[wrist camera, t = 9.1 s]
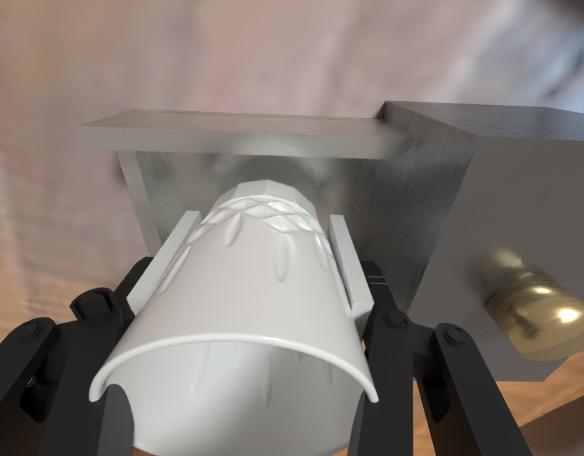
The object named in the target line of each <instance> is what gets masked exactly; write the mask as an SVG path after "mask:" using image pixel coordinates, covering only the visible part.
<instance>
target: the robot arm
mask: <svg viewBox="0 0 584 456" xmlns="http://www.w3.org/2000/svg"><path fill="white" fill-rule="evenodd" d="M201 222H202V219H201V214H200V211H186V212H185V214H184V215H183V217H182V218H181V220H180V221H179V223H178V224H177V225H176V227H175V228H174V230H173V231H172V233H171V234H170V236H169V237H168V239H167V240H166V241H165V243H164V244H163V246H162V247H161V249H160V250H159V252H158V253H157V254H156V256H155V257H144V258H143V259H141V260H140V261H139V262H137V263H136V264H135V265H134V266H133V268H132V269H131V270H130V272H129V273H128V274H127V276H126V277H125V278H124V280H123V281H122V282H121V283H120V285H119V286H118V287H117V289H116V290H115V291H114V292H113V291H112V290H111V289H109V288H104V287H102V288H95V289H92V290H89V291H86V292H84V293H83V294H81V295H79V296H78V297H77V298H75V299H74V300H73V301H72V303H71V304H70V306H69V307H70V308H71V310H72V311H73V313H74V315H75V316H76V318H77V319H78V320H75V321H71V322H67V323H62V324H58V325H56V324H55V322H54V321H53V320H52V319H50V318H47V317H41V318H36V319H32V320H30V321H27V322H25V323H23V324H21V325H20V326H18V327H17V328H15V329H14V330H13V331H12V332H11V333H9V334H8V335H7V336H6V338H5V339H4V340H3V341H2V342H1V343H0V456H132V451H133V438H134V425H135V424H134V419H133V414H132V410H131V406H130V403H129V400H128V397H127V395H126V393H125V391H124V389H123V388H122V387H121V386H120V385H118V384H110V385H108V387H107V388H106V390H105V392H104V393H103V395H102V396H101V398H100V399H99V400H97V401H94V402H91V401H90V400H89V390H90V386H91V383H92V381H93V379H94V377H95V376H96V374H97V373H98V371H99V370H100V368H101V367H102V365H103V364H104V362H105V361H106V359H107V358H108V356H109V355H110V353H111V352H112V350H113V349H114V348H115V346H116V345H117V343H118V342H119V340H120V339H121V337H122V336H123V334H124V333H125V331H126V330H127V328H128V327H129V325H130V324H131V322H132V321H133V319H134V318H135V316H136V315H137V313H138V312H139V310H140V309H141V308H142V306H143V305H144V303H145V302H146V300H147V299H148V297H149V296H150V294H151V293H152V291H153V290H154V288H155V287H156V285H157V284H158V282H159V280H160V279H161V277H162V276H163V274H164V273H165V271H166V270H167V268H168V267H169V265H170V264H171V262H172V261H173V259H174V258H175V256H176V255H177V253H178V252H179V251H180V249H181V248H182V247H183V246H184V244H185V243H186V241H187V240H188V238H189V237H190V235H191V234H192V233H193V231H194V230H195V228H196V227H197V226H198V225H199V224H200V223H201ZM327 239H328V242H329V245H330V248H331V251H332V254H333V256H334V259H335V262H336V266H337V269H338V272H339V274H340V277H341V279H342V282H343V286H344V289H345V292H346V296H347V299H348V303H349V306H350V309H351V312H352V316H353V319H354V322H355V325H356V329H357V332H358V335H359V338H360V341H361V344H362V340H364V344H365V347H366V349H365V352H364V354H365V357H366V360H367V363H368V367H369V370H370V373H371V376H372V379H373V383H374V386H375V389H376V392H377V395H378V399H379V400H378V402H375V403H374V402H371V401H370V400H369V399H368V396H367V393H366V392H365V390H363V392H362V394H361V396H360V399H359V402H358V406H357V409H356V413H355V417H354V421H353V425H352V430H351V436H350V442H349V448H348V454H347V456H413V377H414V378H416V381H417V385H418V389H419V393H420V396H421V400H422V404H423V408H424V412H425V415H426V419H427V423H428V427H429V431H430V434H431V438H432V442H433V446H434V449H435V453H436V456H533V455H532V453H531V451H530V449H529V447H528V445H527V443H526V441H525V439H524V437H523V435H522V433H521V431H520V429H519V427H518V425H517V423H516V421H515V420H514V418H513V416H512V414H511V412H510V410H509V408H508V406H507V404H506V402H505V400H504V398H503V396H502V394H501V392H500V390H499V388H498V386H497V384H496V382H495V381H494V379H493V377H492V375H491V373H490V371H489V369H488V367H487V365H486V363H485V361H484V359H483V357H482V355H481V353H480V351H479V349H478V347H477V345H476V343H475V342H474V340H473V338H472V337H471V336H470V334H469V333H467V332H466V331H465V330H464V329H463V328H461V327H459V326H457V325H455V324H451V323H440V324H438V325H437V326H436V328H435V329H433V328H429V327H426V326H422V325H419V324H416V323H414V322H412V321H411V320H410V319H409V317H408V316H407V315H406V314H405V313H403V312H402V311H400V310H399V309H398V308H397V305H396V303H395V301H394V299H393V296H392V294H391V292H390V290H389V288H388V285H387V284H386V281H385V279H384V278H383V274H382V272H381V270H380V268H379V267H378V266H377V265H376V264H375V263H374V262H373V261H359V259H358V256H357V254H356V251H355V248H354V245H353V242H352V240H351V237H350V234H349V231H348V228H347V226H346V223H345V220H344V217H343V215H330V217H329V225H328V232H327ZM31 378H32V380H31ZM30 380H31V381H30ZM29 381H30V383H29ZM28 383H29V384H28ZM27 384H28V385H27Z"/></svg>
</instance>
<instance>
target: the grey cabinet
mask: <svg viewBox="0 0 584 456" xmlns="http://www.w3.org/2000/svg"><path fill="white" fill-rule="evenodd" d="M78 129H79V131H80V134H81V136H82V139H83V142H84V144H85V147H86V149H98V150H116V153H117V156H118V159H119V163H120V166H121V169H122V172H123V175H124V178H125V181H126V184H127V187H128V190H129V193H130V196H131V199H132V202H133V206H134V209H135V212H136V215H137V218H138V221H139V224H140V227H141V230H142V233H143V236H144V239H145V242H146V245H147V248H148V252H149V255H150V257H155V256H156V254H157V253H158V252H159V250H160V249H161V247H162V246H163V244H164V243H165V241H166V240H167V239H168V237H169V236H170V234H171V233H172V231H173V230H174V228H175V227H176V225H177V224H178V223H179V221H180V220H181V218H182V217H183V215H184V214H185V212H186V211H200V214H201V219H202V221H203V220H204V219H205V217H206V216H207V215H208V213H209V212H210V210H211V208H212V207H213V205H214V204H215V202H216V200H217V199H218V197H220V196H221V195H223V194H224V193H226V192H227V191H229V190H230V189H232V188H233V187H235V186H236V185H238V184H239V183H244V182H251V181H259V180H267V179H268V180H271V181H275V182H278V183H281V184H284V185H288V186H291V187H294V188H295V189H297V190H298V191H299V192H300V193H301V194H302V195H303V196H304V197H305V198H307V199H308V200H309V201H310V202H311V203H312V204H313V205H314V207H315V210H316V213H317V216H318V218H319V221H320V224H321V227H322V230H323V234H324V236H325V237H326V238H327V232H328V225H329V217H330V215H343V217H344V220H345V223H346V226H347V228H348V231H349V234H350V237H351V240H352V242H353V245H354V248H355V251H356V254H357V256H358V259H359V261H373V262H374V263H375V264H376V265H377V266H378V267H379V268H380V270H381V272H382V274H383V278H384V279H385V281H386V284H387V285H388V288H389V290H390V292H391V294H392V296H393V299H394V301H395V303H396V305H397V308H398V309H399V310H400V311H402V312H403V313H405V314H406V315H407V316H408V317H409V319H410V320H411V321H412V322H414V323H416V324H419V325H422V326H426V327H429V328H433V329H435V328H436V326H437V325H438V324H440V323H451V324H455V325H457V326H459V327H461V328H463V329H464V330H465V331H466V332H467V333H469V334H470V336H471V337H472V338H473V340H474V342H475V343H476V345H477V347H478V349H479V351H480V353H481V355H482V357H483V359H484V361H485V363H486V365H487V367H488V369H489V371H490V373H491V375H492V377H493V379H494V381H530V382H543V381H544V380H545V379H546V378H547V377H548V376H549V375H550V374H551V373H552V372H554V371H555V370H556V369H557V368H558V367H559V366H560V365H561V364H562V363H563V362H564V361H565V360H566V359H567V358H568V357H569V356H571V355H574V354H576V353H579V352H581V351H583V350H584V113H578V112H572V111H566V110H560V109H554V108H548V107H524V106H500V105H476V104H451V103H427V102H403V101H386V103H385V108H384V112H383V117H382V119H376V118H351V117H325V116H300V115H274V114H249V113H223V112H197V111H172V110H146V109H133V110H130V111H127V112H123V113H120V114H116V115H113V116H110V117H106V118H103V119H100V120H96V121H93V122H89V123H86V124H83V125H79V126H78ZM413 381H416V378H414V377H413Z"/></svg>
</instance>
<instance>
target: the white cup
mask: <svg viewBox="0 0 584 456" xmlns="http://www.w3.org/2000/svg"><path fill="white" fill-rule="evenodd" d="M110 384H118V385H120V386H121V387H122V388H123V389H124V391H125V393H126V395H127V397H128V400H129V403H130V406H131V410H132V414H133V419H134V424H135V425H134V438H133V447H135V448H138V449H140V450H142V451H145V452H147V453H150V454H153V455H156V456H331V455H333V454H336V453H338V452H340V451H342V450H344V449H346V448H348V447H349V442H350V436H351V430H352V425H353V421H354V417H355V413H356V409H357V406H358V402H359V399H360V396H361V394H362V392H363V390H365V392H366V393H367V396H368V399H369V400H370V401H371V402H374V403H375V402H378V400H379V399H378V395H377V392H376V389H375V386H374V383H373V379H372V376H371V373H370V370H369V367H368V363H367V360H366V357H365V354H364V351H363V347H362V344H361V341H360V338H359V335H358V332H357V329H356V325H355V322H354V319H353V316H352V312H351V309H350V306H349V303H348V299H347V296H346V292H345V289H344V286H343V282H342V279H341V277H340V274H339V272H338V269H337V266H336V262H335V259H334V256H333V254H332V251H331V248H330V245H329V242H328V239H327V238H326V237H325V236H324V234H323V230H322V227H321V224H320V221H319V218H318V216H317V213H316V210H315V207H314V205H313V204H312V203H311V202H310V201H309V200H308V199H307V198H305V197H304V196H303V195H302V194H301V193H300V192H299V191H298V190H297V189H295V188H294V187H291V186H288V185H284V184H281V183H278V182H275V181H271V180H268V179H267V180H259V181H251V182H244V183H239V184H238V185H236V186H235V187H233V188H232V189H230V190H229V191H227V192H226V193H224V194H223V195H221V196H220V197H218V199H217V200H216V202H215V204H214V205H213V207H212V208H211V210H210V212H209V213H208V215H207V216H206V217H205V219H204V220H203V221H202V222H201V223H200V224H199V225H198V226H197V227H196V228H195V230H194V231H193V233H192V234H191V235H190V237H189V238H188V240H187V241H186V243H185V244H184V246H183V247H182V248H181V249H180V251H179V252H178V253H177V255H176V256H175V258H174V259H173V261H172V262H171V264H170V265H169V267H168V268H167V270H166V271H165V273H164V274H163V276H162V277H161V279H160V280H159V282H158V284H157V285H156V287H155V288H154V290H153V291H152V293H151V294H150V296H149V297H148V299H147V300H146V302H145V303H144V305H143V306H142V308H141V309H140V310H139V312H138V313H137V315H136V316H135V318H134V319H133V321H132V322H131V324H130V325H129V327H128V328H127V330H126V331H125V333H124V334H123V336H122V337H121V339H120V340H119V342H118V343H117V345H116V346H115V348H114V349H113V350H112V352H111V353H110V355H109V356H108V358H107V359H106V361H105V362H104V364H103V365H102V367H101V368H100V370H99V371H98V373H97V374H96V376H95V377H94V379H93V381H92V383H91V386H90V390H89V400H90V401H91V402H94V401H97V400H99V399H100V398H101V396H102V395H103V393H104V392H105V390H106V388H107V387H108V385H110Z"/></svg>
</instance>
